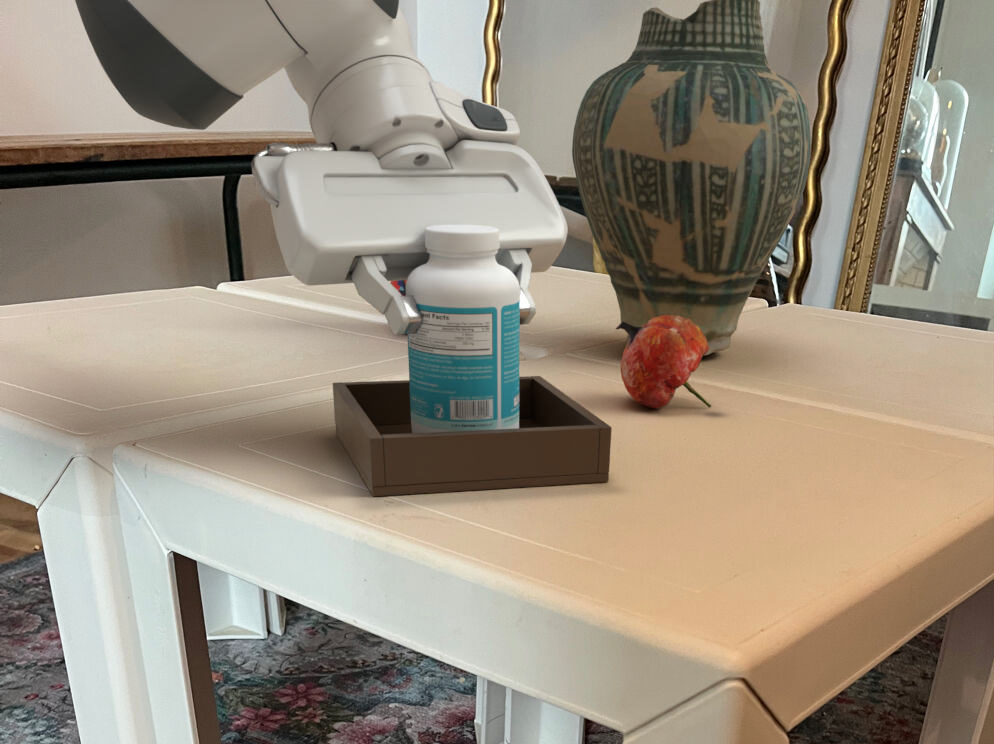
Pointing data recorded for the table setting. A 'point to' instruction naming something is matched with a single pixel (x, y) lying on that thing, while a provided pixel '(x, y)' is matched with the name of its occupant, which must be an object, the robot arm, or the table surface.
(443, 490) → the holder
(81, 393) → the table surface
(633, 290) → the vase
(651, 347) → the red lumpy rounded piece
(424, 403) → the pill bottle
